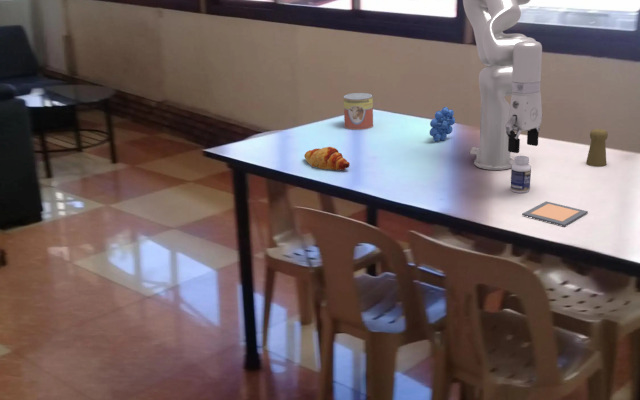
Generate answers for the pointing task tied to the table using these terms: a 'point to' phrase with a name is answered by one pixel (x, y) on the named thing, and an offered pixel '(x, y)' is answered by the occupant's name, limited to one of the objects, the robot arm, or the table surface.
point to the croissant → (326, 159)
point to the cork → (597, 148)
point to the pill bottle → (520, 175)
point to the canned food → (358, 111)
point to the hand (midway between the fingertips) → (523, 148)
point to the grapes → (442, 124)
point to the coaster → (555, 213)
